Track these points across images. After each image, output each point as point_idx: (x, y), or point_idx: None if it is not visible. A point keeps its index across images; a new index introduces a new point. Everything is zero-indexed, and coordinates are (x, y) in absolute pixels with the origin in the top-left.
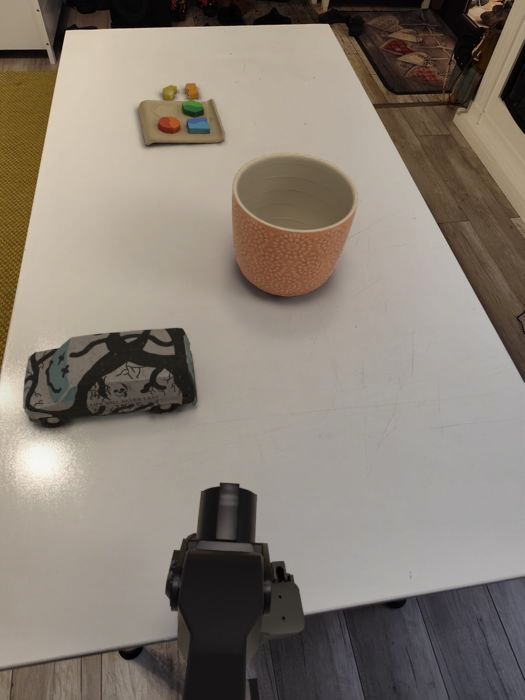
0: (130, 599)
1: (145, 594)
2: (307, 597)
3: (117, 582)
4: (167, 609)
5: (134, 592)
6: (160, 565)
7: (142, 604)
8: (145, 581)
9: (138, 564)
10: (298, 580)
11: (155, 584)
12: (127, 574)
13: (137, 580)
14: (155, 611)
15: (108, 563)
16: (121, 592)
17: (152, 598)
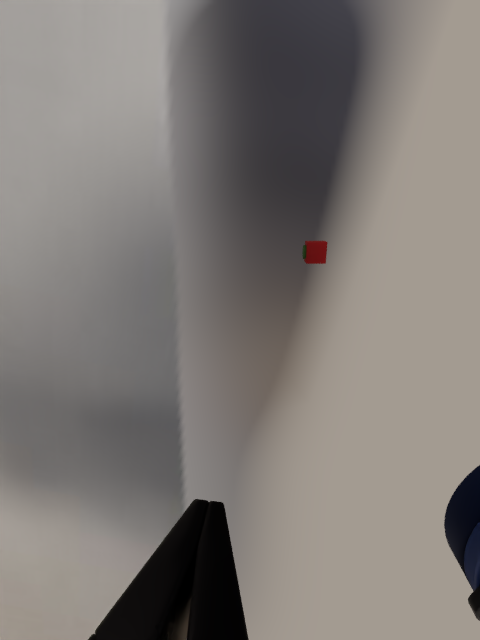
0: (97, 616)
1: (86, 590)
2: (111, 32)
3: (58, 629)
4: (126, 557)
5: (81, 607)
6: (12, 550)
7: (110, 599)
8: (54, 585)
9: (14, 589)
10: (28, 71)
11: (61, 568)
12: (39, 611)
13: (52, 598)
14: (129, 580)
15: (17, 635)
16: (81, 627)
17: (96, 580)
